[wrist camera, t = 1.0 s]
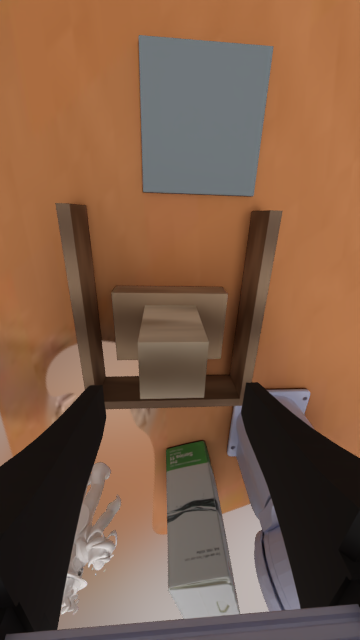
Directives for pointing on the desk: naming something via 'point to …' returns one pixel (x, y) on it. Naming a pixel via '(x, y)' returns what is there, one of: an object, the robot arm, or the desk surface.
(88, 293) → the walnut open-sided frame
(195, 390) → the maple block
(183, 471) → the ink box
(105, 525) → the white figurine
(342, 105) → the desk surface
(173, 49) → the slate mat
